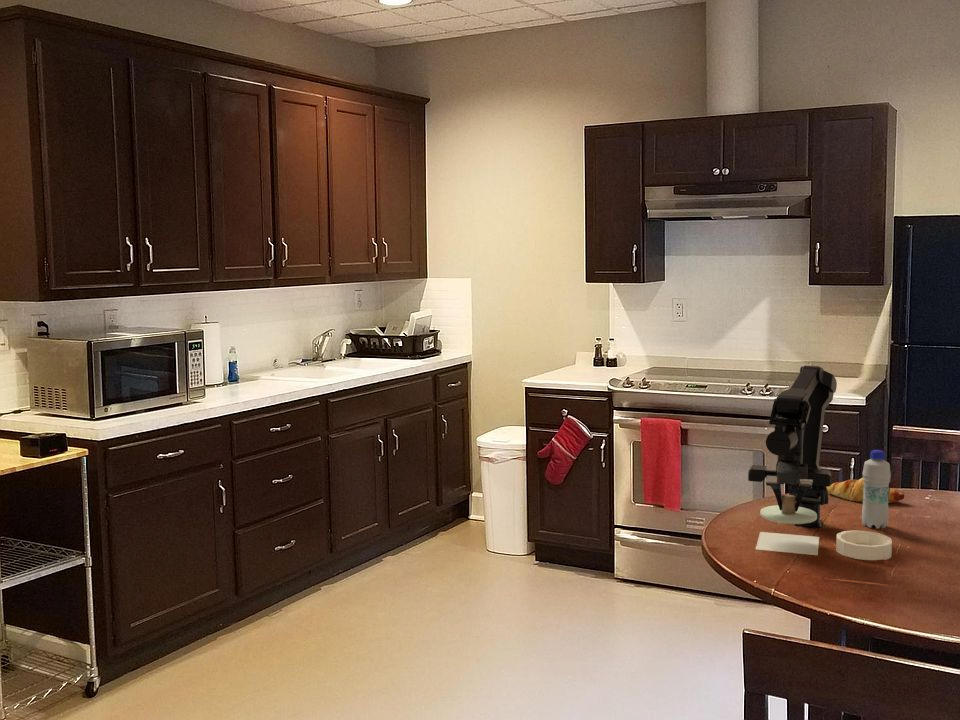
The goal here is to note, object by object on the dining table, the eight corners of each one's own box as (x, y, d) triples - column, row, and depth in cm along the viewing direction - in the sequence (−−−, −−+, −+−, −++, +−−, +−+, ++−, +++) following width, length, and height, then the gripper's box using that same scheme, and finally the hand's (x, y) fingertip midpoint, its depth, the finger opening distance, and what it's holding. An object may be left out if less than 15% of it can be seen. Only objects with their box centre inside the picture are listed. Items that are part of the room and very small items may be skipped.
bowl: (836, 542, 238) (836, 528, 237) (889, 547, 234) (890, 533, 233) (835, 558, 227) (836, 543, 226) (892, 563, 222) (892, 548, 222)
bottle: (884, 523, 252) (887, 447, 250) (892, 531, 246) (895, 453, 243) (857, 522, 253) (859, 446, 250) (864, 530, 247) (867, 452, 244)
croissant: (822, 508, 279) (819, 487, 275) (831, 485, 286) (827, 464, 282) (902, 517, 267) (899, 495, 263) (909, 493, 274) (906, 471, 270)
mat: (760, 533, 246) (760, 531, 246) (819, 538, 241) (819, 537, 241) (755, 550, 233) (755, 549, 233) (817, 556, 228) (817, 555, 228)
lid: (762, 506, 244) (762, 487, 243) (817, 510, 240) (818, 491, 239) (758, 521, 232) (758, 501, 231) (816, 526, 227) (816, 506, 227)
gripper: (746, 451, 229) (745, 516, 231) (831, 457, 223) (829, 523, 225) (750, 441, 240) (749, 503, 242) (831, 446, 233) (829, 510, 235)
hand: (788, 510), depth 236 cm, fingers closed on lid, 3 cm apart
